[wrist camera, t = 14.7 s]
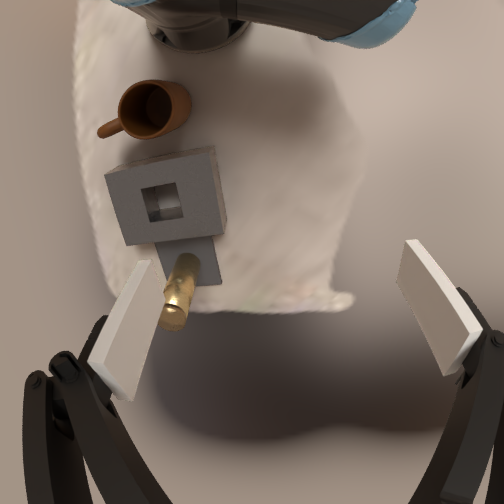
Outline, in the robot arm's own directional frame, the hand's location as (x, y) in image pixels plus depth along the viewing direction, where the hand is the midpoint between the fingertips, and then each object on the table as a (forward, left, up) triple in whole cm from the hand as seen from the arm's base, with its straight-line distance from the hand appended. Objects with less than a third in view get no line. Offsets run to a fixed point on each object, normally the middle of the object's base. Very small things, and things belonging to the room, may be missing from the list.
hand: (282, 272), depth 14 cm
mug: (-9, -15, -30) cm, 35 cm away
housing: (+4, -15, -30) cm, 34 cm away
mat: (+17, -15, -30) cm, 38 cm away
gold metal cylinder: (+17, -15, -29) cm, 37 cm away
